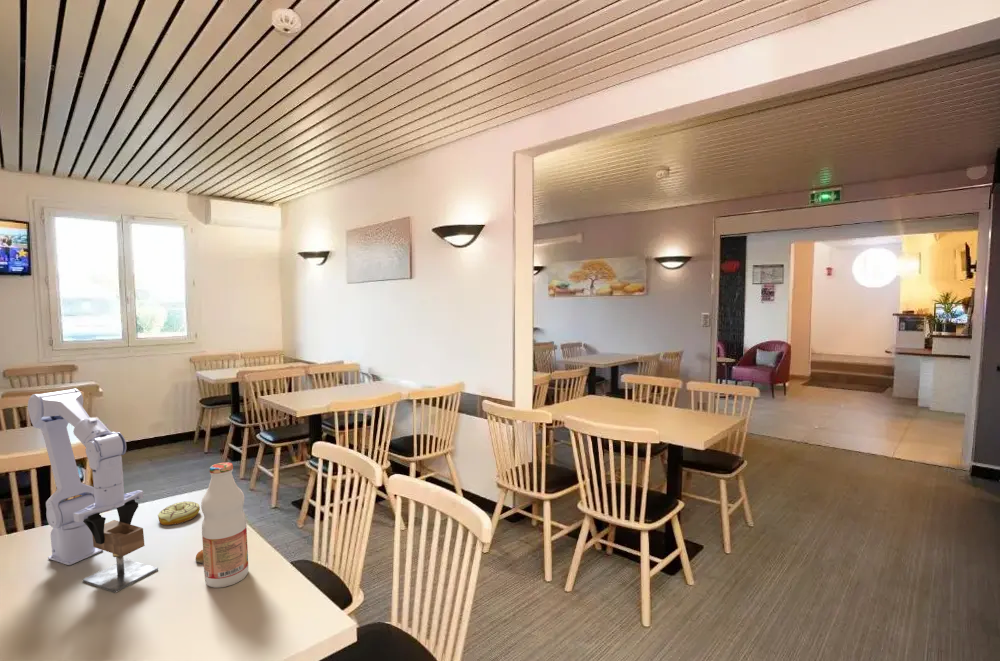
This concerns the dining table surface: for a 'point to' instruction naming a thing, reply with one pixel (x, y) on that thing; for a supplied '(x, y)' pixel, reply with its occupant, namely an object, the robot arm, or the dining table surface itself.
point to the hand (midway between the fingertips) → (112, 537)
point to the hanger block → (121, 538)
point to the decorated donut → (178, 513)
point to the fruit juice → (224, 529)
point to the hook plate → (120, 574)
